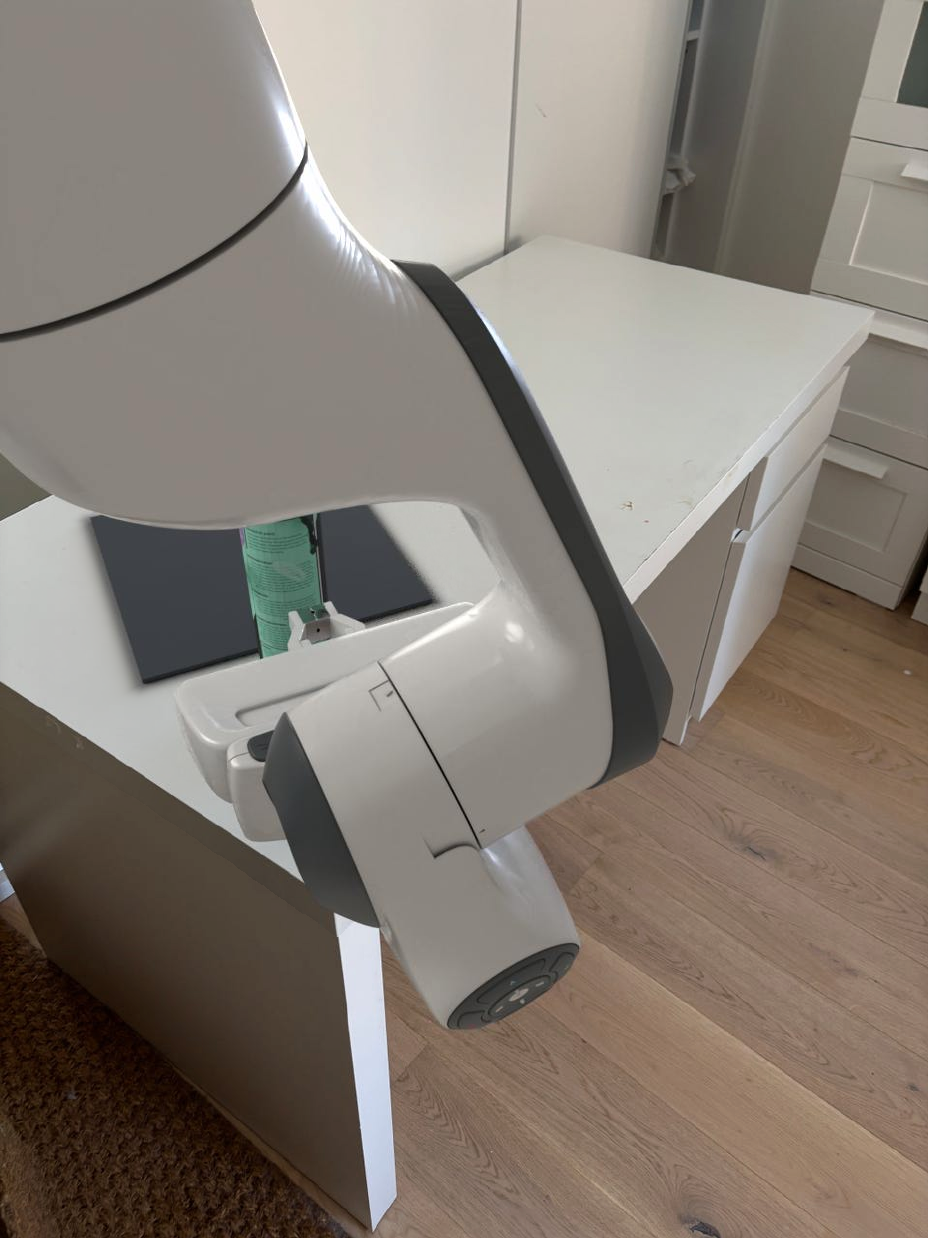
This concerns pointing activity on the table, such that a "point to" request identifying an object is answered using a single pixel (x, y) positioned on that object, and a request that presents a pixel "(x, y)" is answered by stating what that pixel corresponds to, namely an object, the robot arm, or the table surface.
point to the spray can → (283, 576)
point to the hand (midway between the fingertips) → (309, 614)
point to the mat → (235, 586)
